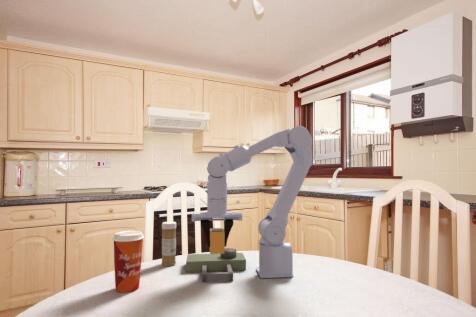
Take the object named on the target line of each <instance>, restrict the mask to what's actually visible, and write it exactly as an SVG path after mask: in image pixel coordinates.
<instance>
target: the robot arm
mask: <svg viewBox="0 0 476 317" xmlns="http://www.w3.org/2000/svg"><path fill="white" fill-rule="evenodd" d="M312 144H313V138H312V135H311V134H310V131H309V129H307V128H306V127H305V126H302V125H296V126H294V127H292V128H291V129H290V128H288V129H284V130H281V131H277V132H275V133H273V134H271V135H269V136H268V137H266V138H263V139H261V140H259V141H257V142H256V143H253V144H251V145H250V146H245V145H238V144H237V145H235V146H233V149H231V150H228V151H227V152H224V153H222V152H221V153H219V154H218V156H214V157H213V158H211V159H210V160H209V162H208V163H207V167H206V170H207V173H208V176H207V181H208V182H207V188H206V189H207V190H206V191H207V192H206V193H207V195H206V196H207V197H206V198H207V200H206V201H207V202H206V205H207V206H206V209H207V210H206V212H203V213H191V222H200V225H201V227H202V229H203V232H204V236H205V237H206V242H207V248H210V229H211V224H210V222H215V221H216V222H217V221H218V222H219V221H220V222H221V221H222V222H223V229H224V232H225V248H226V247H227V245H228V244H227V243H228V239H229V235H230V233H231V230H232V228H233V226H234V221H243V213H242V212H228V183H227V173H228V172H233V171H235V170H237V169H239V168H241V167H243V166H246V165H249V164H250V163H251V161H252V157H254V156H256V155H258V154H260V153H264V152H265V151H267V150H270V149H272V148H276V147H277V148H284V149H285V150H286V151H287V152H288V153H289V155H290V157H291V159H292V161H293V162H292V164H291V167H290V169H289V171H288V173H287V175H286V177H285V180H284V182H283V184H282V185H281V187H280V190H279V193H278V195H277V197H276V199H275V201H274V203H273V205H272V207H271V209H270V210H269V211H268V212H267V213H266V216H265V217H264V218H262V219H261V220H260V221H259V223H258V232H259V234H260V236H261V238H259V241H258V245H259V246H258V248H259V249H258V250H259V251H258V253H259V254H258V258H259V259H258V262H259V263H258V267H255V270H256V272H257V274H258V276H259V278H261V279H273V278H274V279H275V278H293V277H294V272H293V271H294V270H293V268H294V267H293V266H294V265H293V248H292V245H291V243H290V242H285V241H284V240H285V238H286V235H287V233H286V230H287V226H288V224H289V223H288V222H289V221H288V220H289V214H290V211H291V210H292V208H293V206H294V202H295V200H296V199H297V196H298V194H299V193H300V190H301V187H302V185H303V183H304V181H305V178H306V177H307V174H308V173H309V170H310V169H311V166H312V164H313V150H312V148H313V147H312Z"/></svg>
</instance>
